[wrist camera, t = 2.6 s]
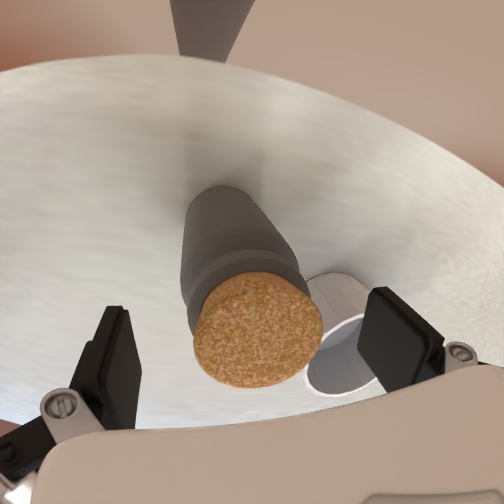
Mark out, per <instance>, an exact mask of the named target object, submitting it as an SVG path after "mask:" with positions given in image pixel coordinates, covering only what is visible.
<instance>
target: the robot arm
mask: <svg viewBox="0 0 504 504" xmlns="http://www.w3.org/2000/svg"><path fill="white" fill-rule="evenodd" d="M444 340H445V338H444V337H443V336H442V335H441V334H440V333H439V332H438V331H436V330H435V329H434V328H433V327H432V326H431V325H430V324H429V323H428V322H427V321H426V320H424V319H423V318H422V317H421V316H420V315H419V314H418V313H417V312H416V311H414V310H413V309H412V308H411V307H410V306H409V305H408V304H407V303H405V302H404V301H403V300H402V299H401V298H400V297H399V296H398V295H396V294H395V293H394V292H393V291H392V290H391V289H389V288H388V287H387V286H385V287H376V288H373V290H372V292H370V293H369V295H368V299H367V304H366V309H365V313H364V318H363V322H362V326H361V330H360V335H359V339H358V343H357V350H358V352H359V354H360V355H361V357H362V358H363V359H364V361H365V362H366V364H367V365H368V366H369V368H370V369H371V371H372V372H373V373H374V375H375V376H376V378H377V379H378V380H379V382H380V383H381V385H382V386H383V387H384V389H385V390H386V392H387V393H386V394H383V395H380V396H376V397H373V398H369V399H365V400H362V401H358V402H354V403H350V404H346V405H342V406H338V407H333V408H329V409H324V410H320V411H315V412H310V413H305V414H300V415H294V416H288V417H282V418H276V419H270V420H263V421H255V422H247V423H239V424H229V425H218V426H205V427H189V428H164V429H135V421H136V413H137V404H138V396H139V389H140V382H141V375H142V370H141V364H140V360H139V356H138V352H137V348H136V343H135V339H134V335H133V330H132V325H131V321H130V316H129V312H128V310H124V309H123V307H122V306H107V307H106V309H105V311H104V314H103V316H102V318H101V321H100V323H99V326H98V328H97V330H96V333H95V335H94V338H93V340H92V341H88V342H87V343H86V345H85V347H84V350H83V352H82V355H81V357H80V360H79V362H78V365H77V367H76V370H75V373H74V375H73V378H72V380H71V383H70V386H69V388H58V389H55V390H52V391H51V392H49V393H48V394H46V395H45V396H44V398H43V399H42V401H41V403H40V412H41V416H39V417H37V418H35V419H33V420H32V421H30V422H28V423H26V424H24V425H22V426H21V427H19V428H17V429H15V430H13V431H11V432H9V433H7V434H6V435H4V436H2V437H0V504H504V368H503V367H500V366H495V365H491V364H487V363H483V362H479V361H478V359H477V354H476V352H475V351H474V349H473V348H472V347H470V346H469V345H467V344H465V343H462V342H457V341H455V342H450V343H448V344H447V345H446V347H444V346H443V342H444Z"/></svg>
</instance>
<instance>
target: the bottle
mask: <svg viewBox="0 0 504 504" xmlns="http://www.w3.org/2000/svg"><path fill="white" fill-rule="evenodd" d="M180 282H181V292H182V297H183V300H184V302H185V304H186V306H187V315H188V324H189V327H190V330H191V333H192V335H193V336H194V340H193V346H194V353H195V356H196V359H197V361H198V363H199V365H200V366H201V367H202V369H203V370H204V371H205V372H206V373H207V374H208V375H209V376H211V377H212V378H214V379H215V380H216V381H218V382H221V383H223V384H226V385H229V386H233V387H237V388H260V387H267V386H271V385H274V384H277V383H280V382H282V381H284V380H286V379H288V378H290V377H292V376H294V375H295V374H296V373H298V372H299V371H301V370H302V369H303V368H304V367H305V366H306V365H307V364H308V363H309V362H310V361H311V360H312V358H313V357H314V356H315V354H316V352H317V351H318V349H319V346H320V344H321V341H322V336H323V320H322V316H321V313H320V311H319V309H318V307H317V306H316V304H315V303H314V302H313V301H312V300H311V295H310V291H309V288H308V286H307V283H306V281H305V280H304V278H303V276H302V275H301V274H300V271H299V266H298V262H297V259H296V257H295V255H294V253H293V251H292V249H291V248H290V246H289V245H288V243H287V242H286V241H285V239H284V238H283V237H282V235H281V234H280V233H279V232H278V230H277V229H276V228H275V227H274V226H273V224H272V223H271V222H270V221H269V219H268V218H267V217H266V216H265V215H264V213H263V212H262V211H261V210H260V208H259V207H258V206H257V205H256V204H255V203H254V202H253V201H252V200H251V199H250V197H249V196H247V195H246V194H245V193H243V192H242V191H240V190H238V189H235V188H231V187H215V188H211V189H208V190H206V191H205V192H203V193H201V194H200V195H199V196H198V197H197V198H196V199H195V200H194V201H193V202H192V204H191V205H190V207H189V209H188V212H187V215H186V220H185V227H184V237H183V248H182V260H181V274H180Z"/></svg>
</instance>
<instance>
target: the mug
mask: <svg viewBox="0 0 504 504" xmlns="http://www.w3.org/2000/svg"><path fill="white" fill-rule="evenodd" d="M306 283H307V286H308V288H309V291H310V295H311V300H312V301H313V302H314V303H315V304H316V306H317V307H318V309H319V311H320V313H321V316H322V320H323V336H322V341H321V344H320V346H319V349H318V351H317V352H316V354H315V356H314V357H313V358H312V360H311V361H310V362H309V363H308V364H307V365H306V366H305V367H304V368H303V369H302V370H301V371H299V372H300V375H301V377H302V379H303V381H304V384H305V386H306V387H307V388H308V389H309V390H310V391H311V392H313V393H315V394H317V395H320V396H323V397H339V396H343V395H348V394H351V393H354V392H356V391H358V390H360V389H362V388H365V387H366V386H368V385H369V384H371V383H372V382H373V381H375V380H376V379H377V378H376V376H375V375H374V373H373V372H372V371H371V369H370V368H369V366H368V365H367V364H366V362H365V361H364V359H363V358H362V357H361V355H360V354H359V352H358V350H357V343H358V339H359V335H360V330H361V326H362V322H363V318H364V313H365V309H366V304H367V299H368V295H369V293H370V292H369V291H368V290H367V289H366V288H365V287H364V286H363V285H362V284H361V283H360V282H358V281H357V280H356V279H355V278H354V277H352V276H350V275H347V274H344V273H326V274H322V275H319V276H317V277H314V278H312V279H310V280H308V281H307V282H306Z"/></svg>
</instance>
